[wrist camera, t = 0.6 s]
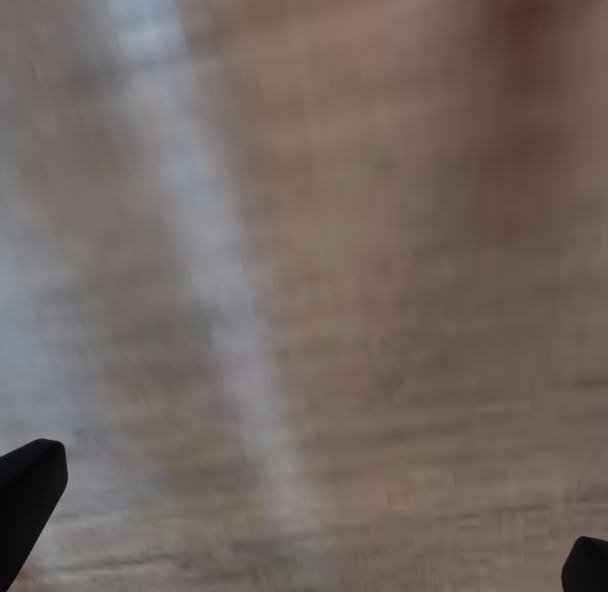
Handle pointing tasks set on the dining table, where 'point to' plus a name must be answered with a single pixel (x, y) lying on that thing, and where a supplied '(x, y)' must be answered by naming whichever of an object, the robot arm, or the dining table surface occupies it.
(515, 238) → the dining table surface
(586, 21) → the dining table surface
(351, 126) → the dining table surface
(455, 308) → the dining table surface
